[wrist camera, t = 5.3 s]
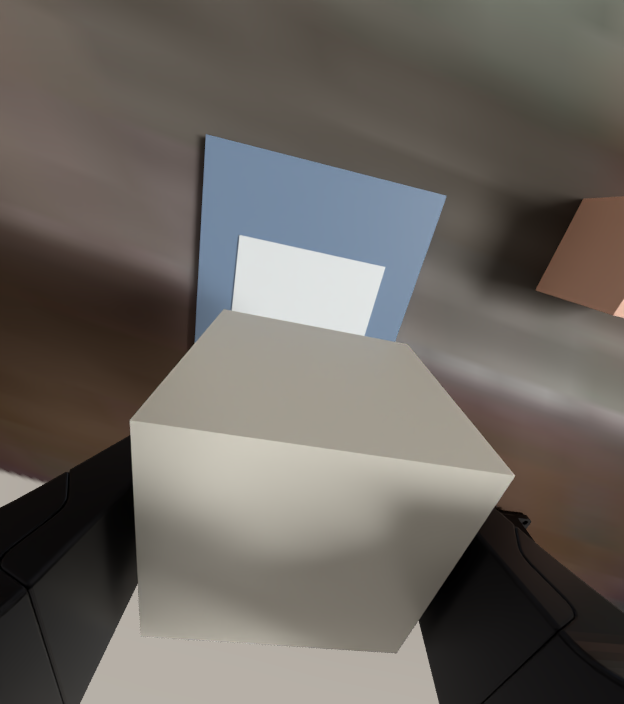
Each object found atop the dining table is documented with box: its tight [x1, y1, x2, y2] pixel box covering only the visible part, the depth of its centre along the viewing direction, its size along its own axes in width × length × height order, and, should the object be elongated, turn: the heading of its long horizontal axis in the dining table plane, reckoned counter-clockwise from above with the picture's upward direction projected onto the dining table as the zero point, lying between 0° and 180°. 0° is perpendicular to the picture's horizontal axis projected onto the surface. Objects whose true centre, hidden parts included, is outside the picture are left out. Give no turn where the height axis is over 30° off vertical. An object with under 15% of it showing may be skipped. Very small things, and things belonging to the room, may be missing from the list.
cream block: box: [130, 309, 515, 653], centre depth 7 cm, size 6×6×5 cm
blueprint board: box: [195, 134, 446, 343], centre depth 18 cm, size 16×12×1 cm
